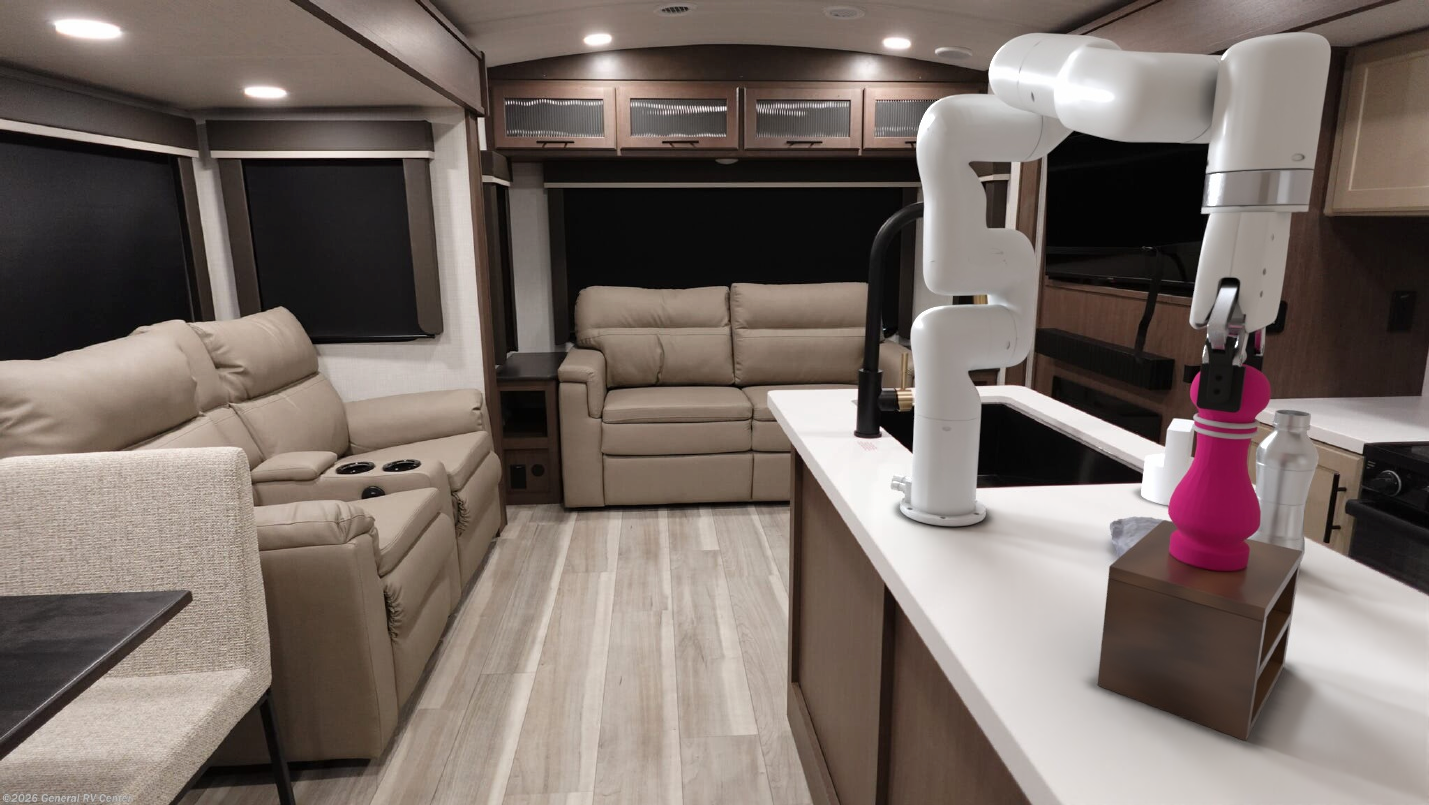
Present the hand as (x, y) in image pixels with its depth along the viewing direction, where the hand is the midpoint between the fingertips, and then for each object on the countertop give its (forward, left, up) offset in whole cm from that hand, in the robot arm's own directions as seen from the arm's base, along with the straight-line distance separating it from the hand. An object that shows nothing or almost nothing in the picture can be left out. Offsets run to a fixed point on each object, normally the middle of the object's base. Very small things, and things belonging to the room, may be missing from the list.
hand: (1227, 401), depth 70 cm
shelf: (0, 0, -27) cm, 27 cm away
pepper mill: (0, 0, -15) cm, 15 cm away
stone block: (-12, +28, -27) cm, 41 cm away
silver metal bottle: (0, +35, -27) cm, 44 cm away
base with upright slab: (-16, +55, -27) cm, 64 cm away
